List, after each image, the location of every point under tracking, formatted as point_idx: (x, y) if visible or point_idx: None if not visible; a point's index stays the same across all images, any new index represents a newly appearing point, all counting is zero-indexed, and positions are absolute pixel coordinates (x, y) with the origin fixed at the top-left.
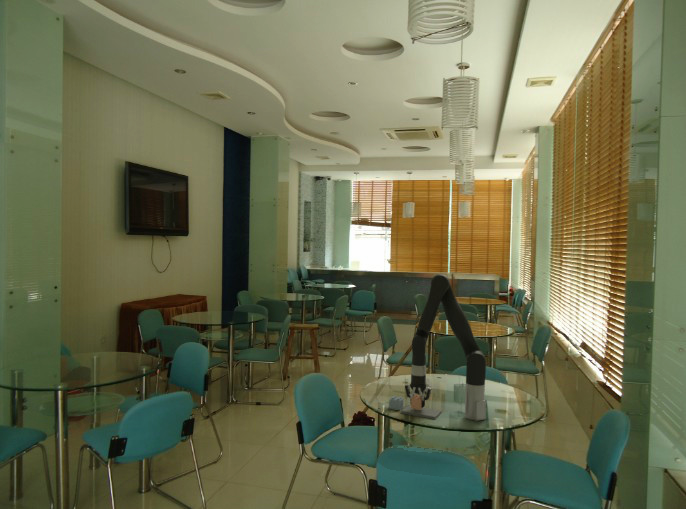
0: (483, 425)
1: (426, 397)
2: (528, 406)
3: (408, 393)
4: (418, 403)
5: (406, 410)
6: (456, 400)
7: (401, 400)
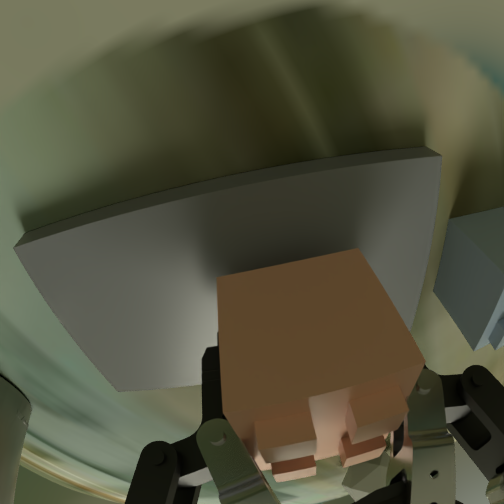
0: None
1: (157, 480)
2: (49, 475)
3: (488, 414)
4: (258, 342)
5: (394, 207)
6: None
7: (491, 307)
